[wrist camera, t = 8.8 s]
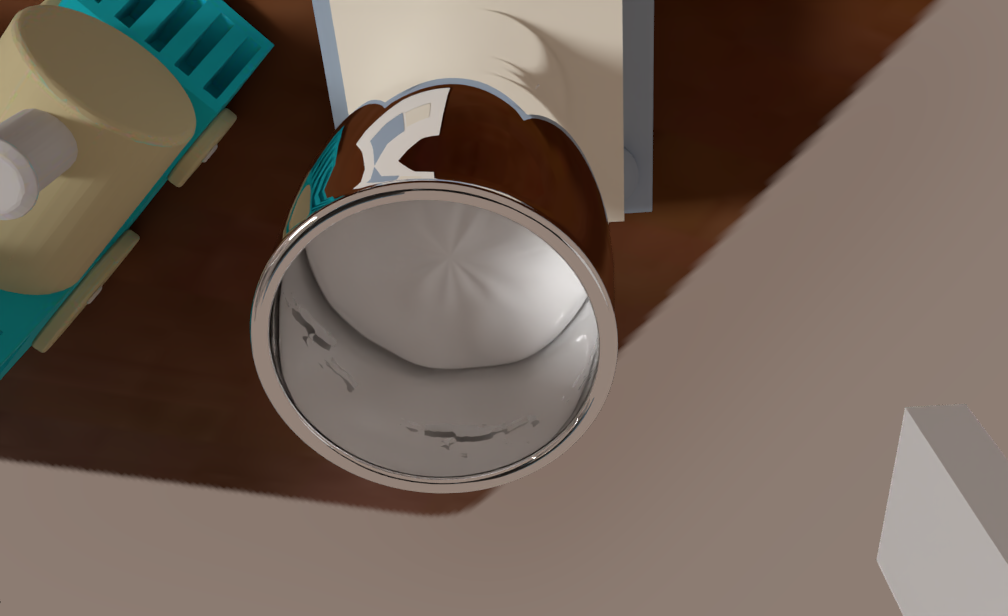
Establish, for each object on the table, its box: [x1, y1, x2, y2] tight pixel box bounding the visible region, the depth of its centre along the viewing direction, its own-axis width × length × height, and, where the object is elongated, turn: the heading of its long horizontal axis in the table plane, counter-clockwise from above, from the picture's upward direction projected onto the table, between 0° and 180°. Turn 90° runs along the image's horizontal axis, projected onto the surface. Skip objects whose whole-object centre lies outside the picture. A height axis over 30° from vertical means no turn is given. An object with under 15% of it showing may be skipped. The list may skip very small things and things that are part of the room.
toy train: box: [0, 0, 275, 380], centre depth 31 cm, size 8×17×15 cm, turn 137°
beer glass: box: [250, 9, 618, 493], centre depth 22 cm, size 7×7×15 cm
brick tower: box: [312, 0, 654, 222], centre depth 32 cm, size 12×12×8 cm
